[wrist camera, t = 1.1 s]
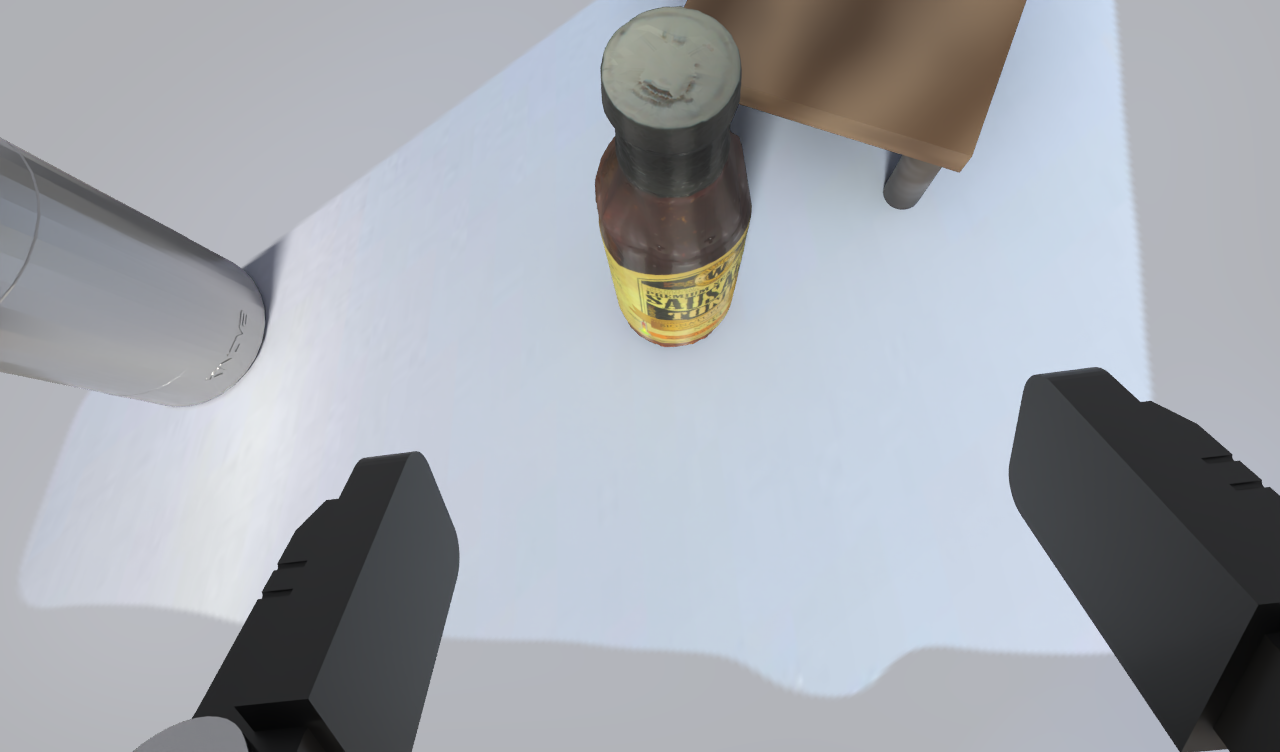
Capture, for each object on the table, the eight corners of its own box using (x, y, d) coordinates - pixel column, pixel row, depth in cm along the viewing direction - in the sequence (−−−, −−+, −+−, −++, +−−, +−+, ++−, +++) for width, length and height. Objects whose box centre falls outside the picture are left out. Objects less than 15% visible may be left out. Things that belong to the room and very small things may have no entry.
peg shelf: (667, 142, 40) (660, 60, 33) (745, -40, 42) (755, -156, 35) (919, 225, 38) (971, 156, 31) (989, 27, 40) (1054, -81, 33)
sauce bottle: (659, 373, 38) (617, 225, 18) (599, 283, 39) (500, 56, 20) (759, 308, 38) (821, 94, 19) (696, 221, 39) (692, -63, 20)
